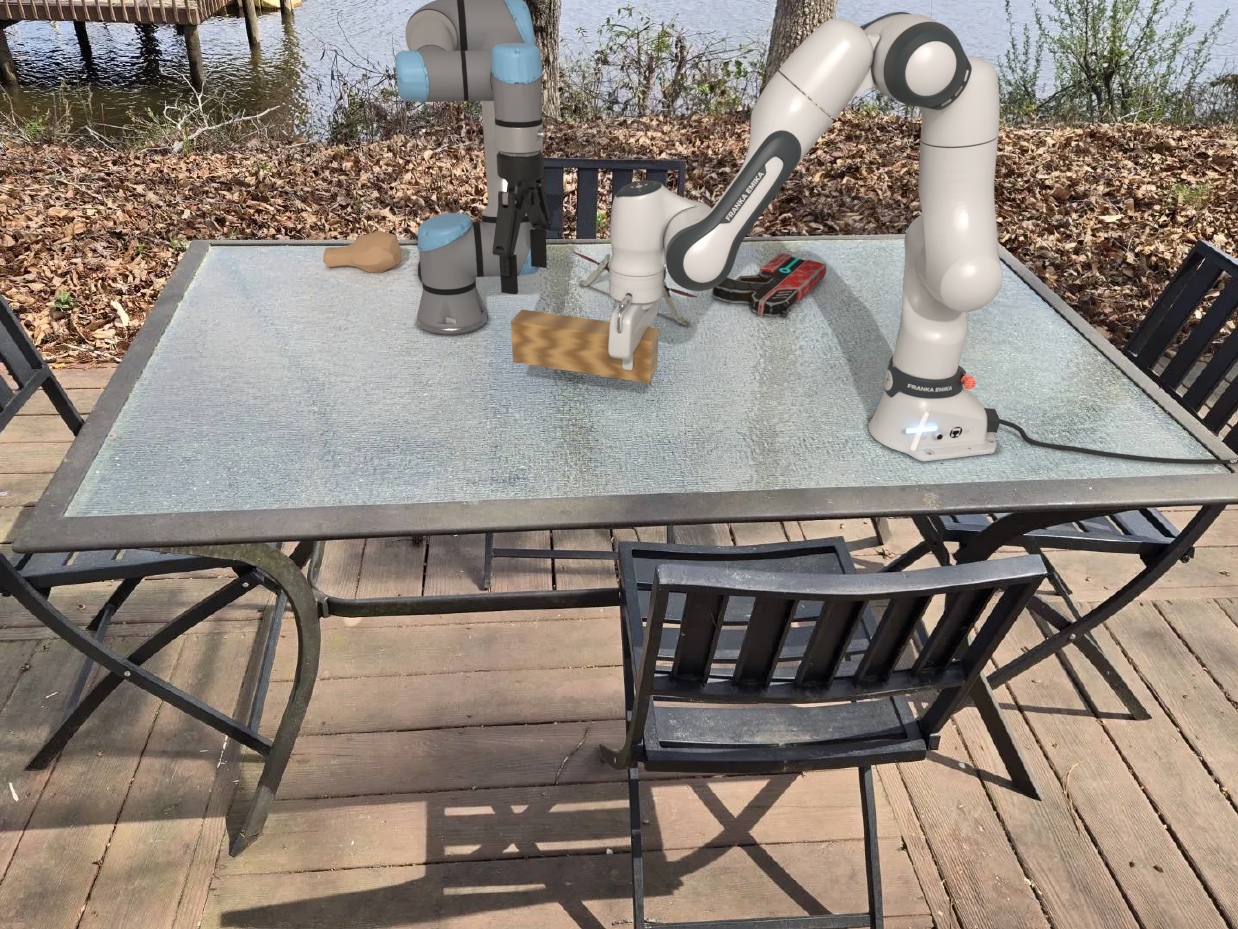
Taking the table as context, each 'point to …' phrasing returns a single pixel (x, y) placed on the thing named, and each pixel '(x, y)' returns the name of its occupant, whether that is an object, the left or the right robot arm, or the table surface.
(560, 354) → the bar
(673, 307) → the bow
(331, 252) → the squash
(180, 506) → the table surface
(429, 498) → the table surface
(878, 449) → the table surface
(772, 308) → the gun
